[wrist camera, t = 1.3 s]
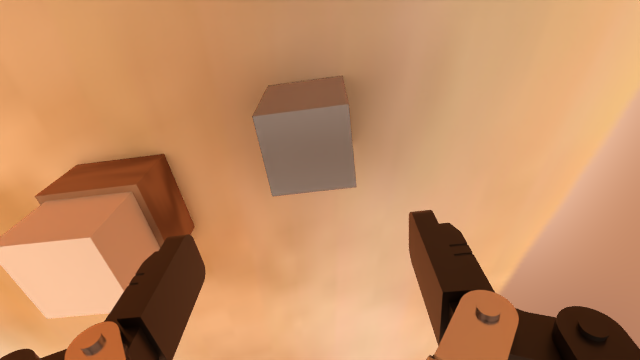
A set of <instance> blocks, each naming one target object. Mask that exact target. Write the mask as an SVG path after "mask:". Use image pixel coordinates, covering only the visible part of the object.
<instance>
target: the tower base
mask: <svg viewBox="0 0 640 360" xmlns="http://www.w3.org/2000/svg"><path fill="white" fill-rule="evenodd" d="M124 192H132V193H133V195H134V197H135V199H136V201H137V203H138V205H139V207H140V209H141V211H142V213H143V215H144V217H145V219H146V221H147V223H148V225H149V227H150V229H151V231H152V233H153V235H154V237H155V239H156V241H157V243H158V245H159V247H160V248H161V246H162V244H163V243H164V241H165V240H166V238H167V237H169V236H178V235H187V234H189V235H190V234H191V232H192V231H193V229H194V224H193V222H192V219H191V217H190V215H189V212H188V210H187V208H186V205H185V203H184V200H183V198H182V196H181V193H180V191H179V188H178V186H177V184H176V181H175V179H174V177H173V174H172V172H171V169H170V167H169V165H168V162H167V160H166V157H165V155H164V154H161V155H153V156H145V157H137V158H129V159H121V160H113V161H105V162H97V163H88V164H80V165H76V166H75V167H73V168H72V169H71V170H69V171H68V172H67V173H65V174H64V175H63V176H61V177H60V178H59V179H57V180H56V181H55V182H53V183H52V184H51V185H49V186H48V187H47V188H45V189H44V190H43V191H41V192H40V193H39V194H37V195H36V196H35V197H36V199H37V200H38V202H39V203H40V205H41V204H43V203H44V202H45V201H52V200H61V199H70V198H79V197H88V196H97V195H106V194H115V193H124Z"/></svg>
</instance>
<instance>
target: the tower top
mask: <svg viewBox="0 0 640 360" xmlns="http://www.w3.org/2000/svg"><path fill="white" fill-rule="evenodd" d="M159 249H160V247H159V245H158V243H157V241H156V239H155V237H154V235H153V233H152V231H151V229H150V227H149V225H148V223H147V221H146V219H145V217H144V215H143V213H142V211H141V209H140V207H139V205H138V203H137V201H136V199H135V197H134V195H133V193H132V192H124V193H115V194H106V195H97V196H88V197H79V198H70V199H61V200H52V201H45V202H44V203H43V204H41V205H40V206H39V207H38V208H36V209H35V210H34V211H33V212H31V213H30V214H29V215H28V216H26V217H25V218H24V219H22V220H21V221H20V222H19V223H17V224H16V225H15V226H14V227H12V228H11V229H10V230H9V231H7V232H6V233H5V234H4V235H2V236H1V237H0V265H1V266H2V267H3V268H4V269H5V271H6V272H7V273H8V274H9V275H10V276H11V278H12V279H13V280H14V281H15V282H16V283H17V285H18V286H19V287H20V288H21V289H22V290H23V292H24V293H25V294H26V295H27V296H28V297H29V299H30V300H31V301H32V302H33V303H34V304H35V305H36V307H37V308H38V309H39V310H40V311H41V312H42V314H43V315H44V316H45V317H46V318H47V319H48V318H60V317H72V316H84V315H95V314H107V313H110V312H111V310H112V309H113V307H114V306H115V304H116V303H117V301H118V300H119V298H120V297H121V295H122V294H123V292H124V291H125V289H126V287H127V286H129V283H130V281H131V280H132V278H133V277H134V276H135V275H136V272H137V271H138V269H139V268H140V266H141V264H142V263H143V262H144V261H145V260H146V259H147V258H148V257H149V256H151V255H152V254H153V253H154V252H156V251H159Z"/></svg>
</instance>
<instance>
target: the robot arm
mask: <svg viewBox="0 0 640 360" xmlns="http://www.w3.org/2000/svg"><path fill="white" fill-rule="evenodd" d="M409 251H410V258H411V262H412V265H413V268H414V271H415V274H416V278H417V281H418V284H419V287H420V290H421V293H422V296H423V299H424V302H425V305H426V309H427V312H428V315H429V318H430V321H431V324H432V327H433V330H434V333H435V337H436V340H437V343H438V348H437V350H436V352H435V354H434V355H433V356H431V355H430V356H428V358H427V359H426V360H640V349H639V348H638V347H637V345H636V344H635V343H634V342H633V341H632V339H631V338H630V337H629V335H628V334H627V333H626V332H625V330H624V329H623V328H622V327H621V326H620V325H619V324H618V323H617V322H616V321H614V320H613V319H611V318H610V317H608V316H607V315H605V314H603V313H600V312H599V311H596V310H593V309H590V308H586V307H580V306H572V307H567V308H564V309H562V310H561V311H560V312H559V313H558V315H557V318H555V317H550V316H545V315H539V314H533V313H528V312H524V311H521V310H519V309H516V308H515V307H514V306H513V305H512V304H511V303H510V302H509V301H508V300H507V299H506V298H504V297H503V296H501V295H499V294H497V293H495V292H494V290H493V288H492V287H491V285H490V283H489V281H488V279H487V278H486V276H485V274H484V272H483V271H482V269H481V267H480V265H479V263H478V262H477V260H476V258H475V256H474V255H473V254H472V251H471V249H470V247H469V246H468V245H467V242H466V240H465V239H464V237H463V235H462V233H461V232H460V231H459V230H458V229H456V228H455V227H454V226H453V225H451V224H450V223H442V224H439V223H438V221H437V219H436V217H435V215H434V213H433V211H432V210H425V211H416V212H410V213H409ZM204 279H205V266H204V263H203V260H202V258H201V256H200V253H199V251H198V248H197V246H196V244H195V241H194V239H193V237H192V236H191V235H189V234H187V235H178V236H169V237H167V238H166V240H165V241H164V243H163V244H162V246H161V248H160V249H159V251H156V252H154V253H153V254H152V255H151V256H149V257H148V258H147V259H146V260H145V261H144V262H143V263H142V264H141V266H140V268H139V269H138V271H137V272H136V275H135V276H134V277H133V278H132V280H131V281H130V283H129V286H127V287H126V289H125V291H124V292H123V294H122V295H121V297H120V298H119V300H118V301H117V303H116V304H115V306H114V307H113V309H112V310H111V312H110V314H109V315H108V317H107V318H106V320H105V321H104V322H101V323H98V324H95V325H93V326H91V327H89V328H88V329H86V330H84V331H83V332H82V333H80V334H79V335H78V336H77V337H76V338H75V339H74V340H73V341H72V342H71V344H70V345H69V347H68V348H67V349H65V350H63V351H60V352H57V353H54V354H51V355H48V356H46V357H43V358H39V357H38V356H37V355H36V354H35V352H34V351H33V350H31V349H21V350H17V351H14V352H12V353H10V354H8V355H6V356H4V357H2V358H1V359H0V360H172V359H173V357H174V354H175V352H176V350H177V347H178V345H179V342H180V340H181V337H182V335H183V332H184V330H185V327H186V325H187V322H188V320H189V317H190V315H191V312H192V310H193V307H194V305H195V302H196V300H197V297H198V295H199V292H200V290H201V287H202V285H203V282H204Z"/></svg>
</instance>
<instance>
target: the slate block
mask: <svg viewBox="0 0 640 360" xmlns="http://www.w3.org/2000/svg"><path fill="white" fill-rule="evenodd" d="M252 117H253V121H254V125H255V129H256V133H257V137H258V141H259V145H260V149H261V153H262V157H263V161H264V165H265V169H266V173H267V177H268V181H269V185H270V189H271V193H272V196H280V195H289V194H298V193H307V192H316V191H325V190H334V189H343V188H352V187H356V177H355V166H354V156H353V145H352V134H351V123H350V113H349V103H348V99H347V94H346V89H345V85H344V80H343V76H336V77H329V78H322V79H314V80H307V81H300V82H292V83H285V84H278V85H270V86H268V87H267V89H266V91H265V93H264V95H263V97H262V99H261V101H260V103H259V105H258V107H257V109H256V110H255V112H254V114H253V116H252Z"/></svg>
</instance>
